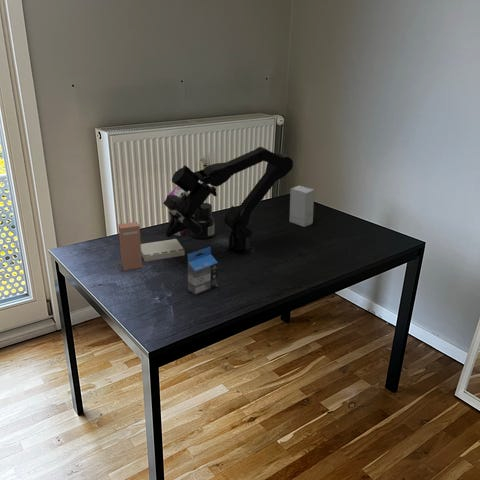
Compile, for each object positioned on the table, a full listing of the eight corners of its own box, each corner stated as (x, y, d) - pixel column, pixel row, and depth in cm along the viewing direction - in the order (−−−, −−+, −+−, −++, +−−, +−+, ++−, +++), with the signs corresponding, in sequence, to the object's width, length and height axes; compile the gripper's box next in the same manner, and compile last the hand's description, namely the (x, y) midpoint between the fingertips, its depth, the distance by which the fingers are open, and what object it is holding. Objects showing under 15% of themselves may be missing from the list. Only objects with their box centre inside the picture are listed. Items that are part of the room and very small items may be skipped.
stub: (139, 262, 161) (137, 221, 154) (142, 267, 158) (139, 225, 151) (121, 265, 158) (118, 224, 152) (123, 270, 155) (120, 228, 149)
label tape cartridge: (195, 295, 143) (194, 258, 138) (187, 290, 146) (186, 254, 140) (218, 286, 148) (218, 250, 143) (210, 281, 151) (210, 246, 146)
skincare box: (312, 224, 196) (316, 189, 190) (303, 227, 192) (306, 192, 186) (297, 218, 201) (299, 184, 195) (287, 221, 198) (290, 187, 191)
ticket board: (176, 243, 175) (176, 238, 174) (184, 255, 167) (184, 249, 166) (138, 249, 170) (138, 244, 169) (144, 261, 162) (144, 256, 161)
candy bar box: (177, 224, 192) (176, 185, 185) (189, 225, 191) (189, 186, 184) (168, 235, 182) (167, 194, 175) (181, 236, 181) (180, 195, 174)
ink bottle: (215, 239, 179) (215, 210, 174) (191, 240, 178) (191, 210, 173) (213, 229, 188) (213, 200, 183) (190, 230, 187) (190, 201, 182)
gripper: (166, 176, 158) (138, 213, 160) (192, 199, 145) (161, 239, 146) (189, 191, 166) (162, 227, 167) (215, 215, 153) (185, 253, 154)
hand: (167, 236), depth 159 cm, fingers closed
